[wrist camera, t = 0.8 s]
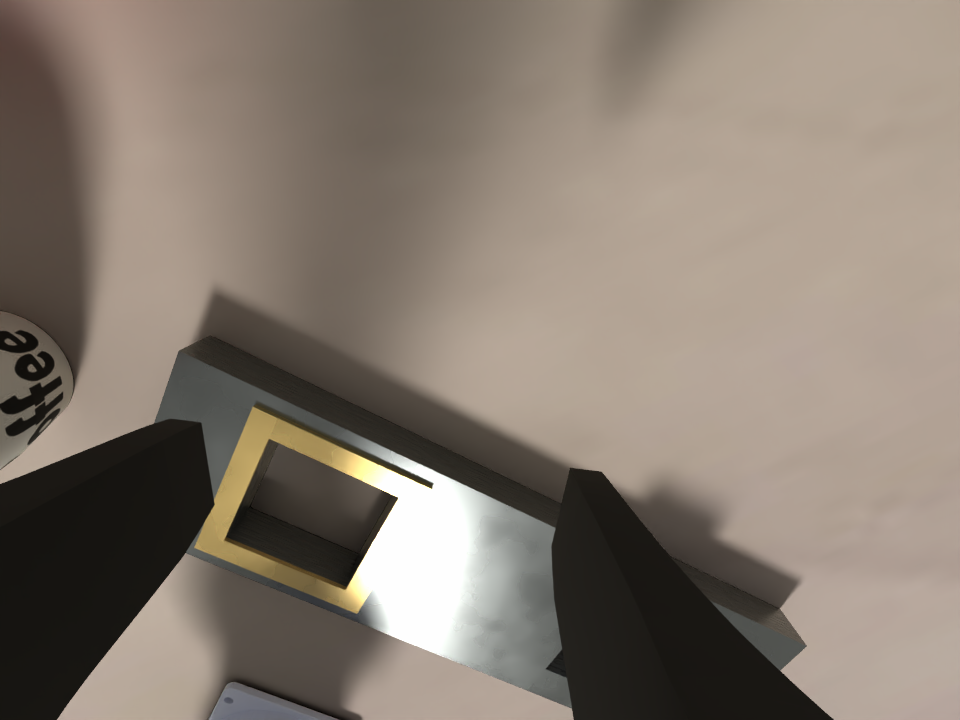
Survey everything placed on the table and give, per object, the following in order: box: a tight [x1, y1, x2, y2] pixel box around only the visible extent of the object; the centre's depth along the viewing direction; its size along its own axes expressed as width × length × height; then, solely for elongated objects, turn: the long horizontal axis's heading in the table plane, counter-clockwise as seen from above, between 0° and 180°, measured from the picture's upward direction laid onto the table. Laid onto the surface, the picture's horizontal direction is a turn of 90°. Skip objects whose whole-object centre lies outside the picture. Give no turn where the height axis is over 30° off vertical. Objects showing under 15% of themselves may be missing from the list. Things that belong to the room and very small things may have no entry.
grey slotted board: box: [154, 336, 806, 708], centre depth 21 cm, size 9×30×2 cm, turn 61°
